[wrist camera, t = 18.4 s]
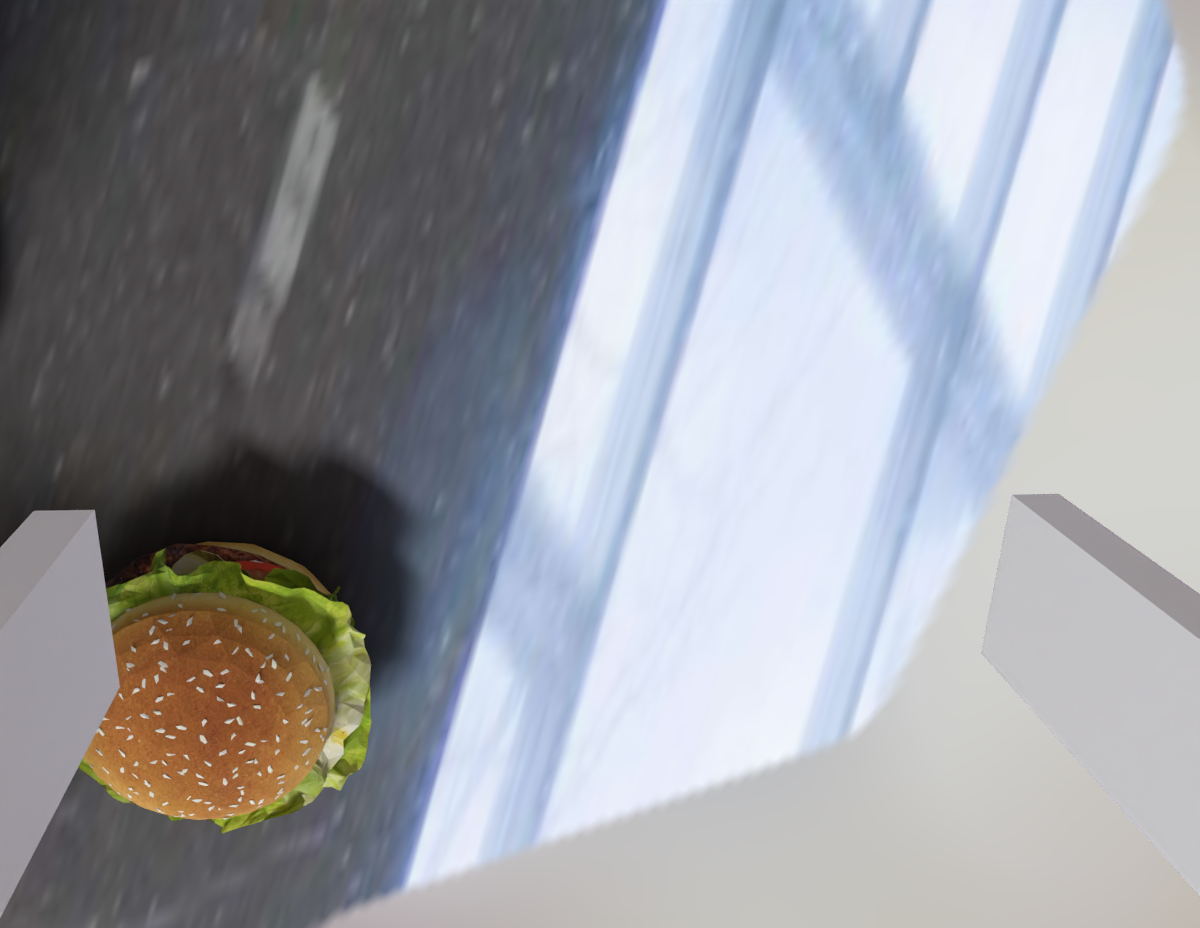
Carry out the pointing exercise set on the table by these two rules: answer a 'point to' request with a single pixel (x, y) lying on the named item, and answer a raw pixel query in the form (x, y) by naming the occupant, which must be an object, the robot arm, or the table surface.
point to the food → (229, 686)
